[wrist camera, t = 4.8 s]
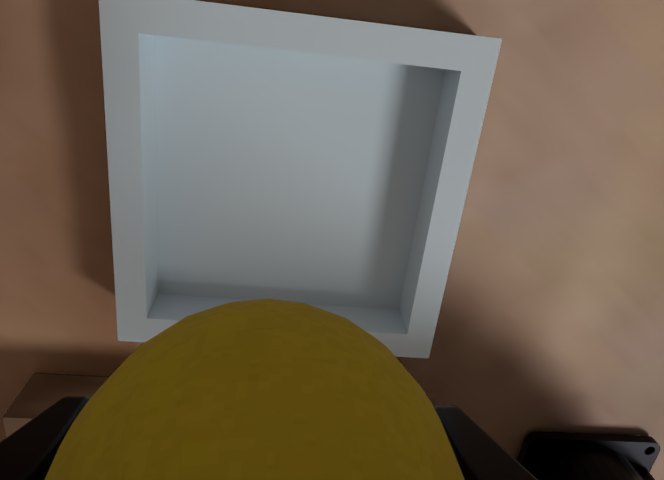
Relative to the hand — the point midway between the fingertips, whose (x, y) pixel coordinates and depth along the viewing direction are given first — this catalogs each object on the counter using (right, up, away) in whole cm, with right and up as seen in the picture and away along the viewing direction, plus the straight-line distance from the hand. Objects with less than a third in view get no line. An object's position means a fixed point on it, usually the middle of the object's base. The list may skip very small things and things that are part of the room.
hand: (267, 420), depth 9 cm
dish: (0, +5, +10) cm, 11 cm away
